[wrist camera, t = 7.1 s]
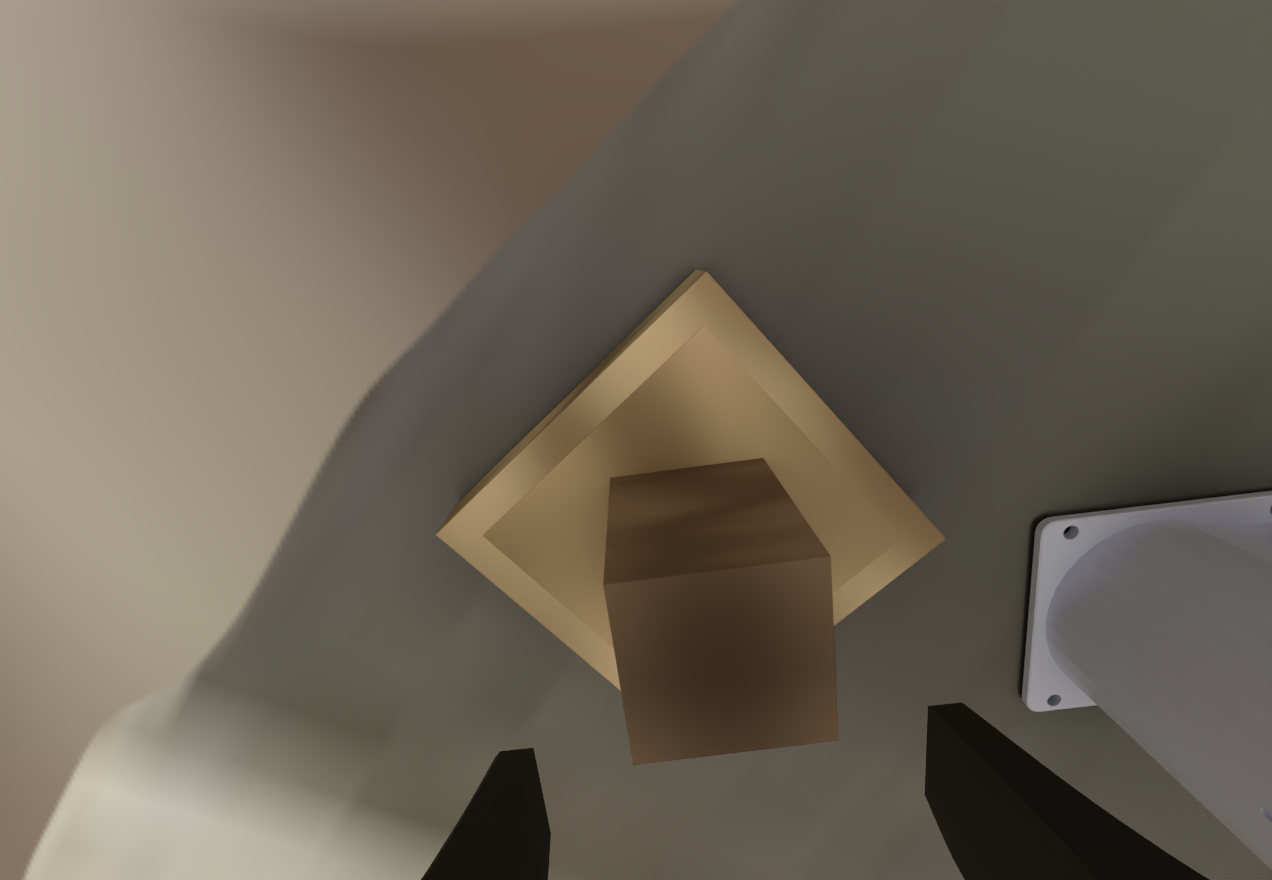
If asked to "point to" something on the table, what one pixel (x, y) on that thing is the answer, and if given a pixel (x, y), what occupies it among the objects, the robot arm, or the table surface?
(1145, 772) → the table surface
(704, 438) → the oak plinth
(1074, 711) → the table surface
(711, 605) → the walnut block
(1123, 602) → the robot arm
